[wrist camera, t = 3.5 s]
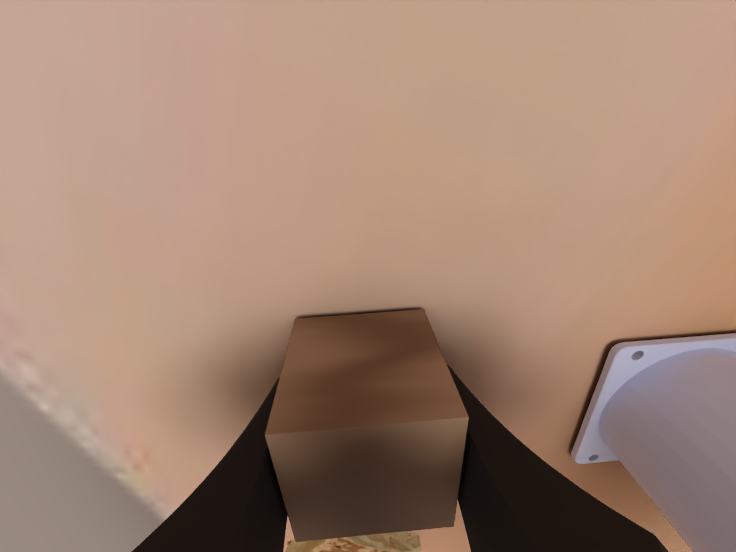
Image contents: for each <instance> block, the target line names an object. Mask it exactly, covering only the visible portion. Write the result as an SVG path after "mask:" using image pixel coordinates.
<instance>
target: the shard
mask: <svg viewBox="0 0 736 552" xmlns="http://www.w3.org/2000/svg"><path fill="white" fill-rule="evenodd" d="M420 549H421V545H420V541H419V539H418V537H417V535H415V534H411V533H406V532H393V533H383V534H373V535H363V536H353V537H343V538H333V539H323V540H313V541H303V542H296V541H295V539H294V540H292V541H290V544H289V546H288V547H287V549H286V552H420Z"/></svg>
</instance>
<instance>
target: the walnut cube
mask: <svg viewBox="0 0 736 552" xmlns="http://www.w3.org/2000/svg"><path fill="white" fill-rule="evenodd" d="M468 419H469V416H468V414H467V412H466V409H465V407H464V405H463V402H462V400H461V397H460V395H459V393H458V390H457V388H456V385H455V383H454V381H453V378H452V376H451V374H450V371H449V369H448V366H447V364H446V362H445V359H444V357H443V355H442V352H441V350H440V347H439V345H438V343H437V340H436V338H435V335H434V333H433V331H432V328H431V326H430V324H429V321H428V319H427V316H426V314H425V312H424V309H419V310H406V311H393V312H379V313H366V314H353V315H339V316H326V317H312V318H299V319H295V322H294V325H293V329H292V333H291V337H290V341H289V345H288V348H287V352H286V356H285V360H284V364H283V367H282V371H281V375H280V379H279V383H278V387H277V390H276V394H275V398H274V402H273V406H272V409H271V413H270V417H269V421H268V425H267V428H266V432H265V437H266V441H267V444H268V448H269V451H270V455H271V458H272V462H273V465H274V469H275V472H276V476H277V479H278V482H279V486H280V489H281V493H282V496H283V500H284V503H285V507H286V510H287V514H288V517H289V520H290V524H291V527H292V531H293V534H294V538H295V541H296V542H303V541H313V540H323V539H333V538H343V537H353V536H363V535H373V534H383V533H393V532H403V531H412V530H422V529H432V528H442V527H452V526H454V520H455V513H456V506H457V499H458V491H459V484H460V477H461V470H462V462H463V455H464V448H465V441H466V433H467V426H468Z"/></svg>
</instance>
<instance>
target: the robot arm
mask: <svg viewBox="0 0 736 552" xmlns="http://www.w3.org/2000/svg"><path fill="white" fill-rule="evenodd" d="M447 366H448V369H449V371H450V374H451V376H452V378H453V381H454V383H455V385H456V388H457V390H458V393H459V395H460V397H461V400H462V402H463V405H464V407H465V409H466V412H467V414H468V416H469V419H468V426H467V433H466V441H465V448H464V455H463V462H462V470H461V477H460V484H459V491H458V502H459V505H460V509H461V513H462V516H463V520H464V524H465V528H466V532H467V536H468V540H469V544H470V549H471V552H668V550H667V549H666V548H665V547H664V546H663V545H662V543H661V542H660V541H659V540H658V538H657V537H656V536H655V535H654V534H652V533H650V532H649V531H647V530H645V529H644V528H642V527H641V526H639V525H637V524H636V523H634V522H632V521H631V520H629V519H627V518H626V517H624V516H622V515H621V514H619V513H618V512H616V511H614V510H613V509H611V508H609V507H608V506H606V505H605V504H603V503H602V502H600V501H599V500H597V499H596V498H594V497H593V496H591V495H590V494H588V493H587V492H585V491H584V490H582V489H581V488H579V487H578V486H577V485H575V484H574V483H573V482H571V481H570V480H569V479H567V478H566V477H564V476H563V475H562V474H560V473H559V472H558V471H556V470H555V469H554V468H552V467H551V466H550V465H548V464H547V463H546V462H544V461H543V460H542V459H541V458H540V457H538V456H537V455H536V454H535V453H533V452H532V451H531V450H530V449H529V448H527V447H526V446H525V445H524V444H523V443H522V442H520V441H519V440H518V439H517V438H516V437H515V436H514V435H513V434H512V433H510V432H509V431H508V430H507V429H506V428H505V427H504V426H503V425H502V424H501V423H500V422H499V421H498V420H497V419H496V418H495V417H494V416H493V415H492V414H491V413H490V412H489V411H488V410H487V409H486V408H485V407H484V406H483V405H482V404H481V403H480V401H479V400H478V399H477V398H476V397H475V396H474V395H473V394H472V393H471V392H470V390H469V389H468V388H467V387H466V386H465V385H464V384H463V382H462V381H461V380H460V379H459V378H458V376H457V375H456V374H455V373H454V371H453V370H452V369H451V368H450V366H449V365H448V364H447ZM279 379H280V377H279V378H278V379H277V381H276V383H275V384H274V386H273V388H272V389H271V391H270V393H269V394H268V396H267V398H266V399H265V401H264V402H263V404H262V405H261V407H260V408H259V410H258V411H257V413H256V414H255V416H254V417H253V419H252V420H251V421H250V423H249V424H248V426H247V427H246V429H245V430H244V431H243V433H242V434H241V435H240V437H239V438H238V439H237V441H236V442H235V443H234V445H233V446H232V447H231V449H230V450H229V451H228V452H227V454H226V455H225V456H224V457H223V459H222V460H221V461H220V462H219V463H218V465H217V466H216V467H215V468H214V469H213V470H212V472H211V473H210V474H209V475H208V476H207V477H206V479H205V480H204V481H203V482H202V483H201V484H200V485H199V486H198V487H197V488H196V489H195V490H194V492H193V493H192V494H191V495H190V496H189V497H188V498H187V499H186V500H185V501H184V502H183V503H182V504H181V505H180V506H179V507H178V508H177V509H176V510H175V511H174V512H173V513H172V514H171V515H170V516H169V517H168V518H167V519H166V520H165V521H164V522H163V523H162V524H161V525H160V526H159V527H158V528H157V529H156V530H155V531H153V532H152V533H151V534H150V535H149V536H148V537H147V538H146V539H145V540H144V541H143V542H142V543H141V544H140V545H139V546H137V547H136V548H135V549H134V550H133V551H132V552H283V548H284V539H285V530H286V522H287V516H288V514H287V510H286V507H285V503H284V500H283V496H282V493H281V489H280V486H279V482H278V479H277V476H276V472H275V469H274V465H273V462H272V458H271V455H270V451H269V448H268V444H267V441H266V437H265V432H266V428H267V425H268V421H269V417H270V413H271V409H272V406H273V402H274V398H275V394H276V390H277V387H278V383H279ZM571 456H572V458H573V459H574V461H575V462H576V463H578V464H587V463H598V462H608V461H620V462H621V463H622V465H623V466H624V467H625V468H626V470H627V471H628V472H629V473H630V475H631V476H632V477H633V478H634V479H635V481H636V482H637V483H638V484H639V486H640V487H641V488H642V489H643V491H644V492H645V493H646V494H647V495H648V497H649V498H650V499H651V500H652V502H653V503H654V504H655V505H656V506H657V508H658V509H659V510H660V511H661V513H662V514H663V515H664V516H665V518H666V519H667V520H668V521H669V522H670V524H671V525H672V526H673V527H674V529H675V530H676V531H677V532H678V533H679V535H680V536H681V537H682V538H683V540H684V541H685V542H686V543H687V545H688V546H689V547H690V548H691V549H692V551H693V552H736V333H732V334H719V335H707V336H695V337H682V338H670V339H657V340H645V341H633V342H622V343H618V344H616V345H614V346H613V347H612V348H611V350H610V351H609V354H608V357H607V359H606V362H605V365H604V367H603V370H602V373H601V375H600V378H599V381H598V383H597V386H596V389H595V391H594V394H593V397H592V399H591V402H590V405H589V407H588V410H587V412H586V415H585V418H584V420H583V423H582V426H581V428H580V431H579V434H578V436H577V439H576V442H575V444H574V447H573V450H572V452H571Z"/></svg>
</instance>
